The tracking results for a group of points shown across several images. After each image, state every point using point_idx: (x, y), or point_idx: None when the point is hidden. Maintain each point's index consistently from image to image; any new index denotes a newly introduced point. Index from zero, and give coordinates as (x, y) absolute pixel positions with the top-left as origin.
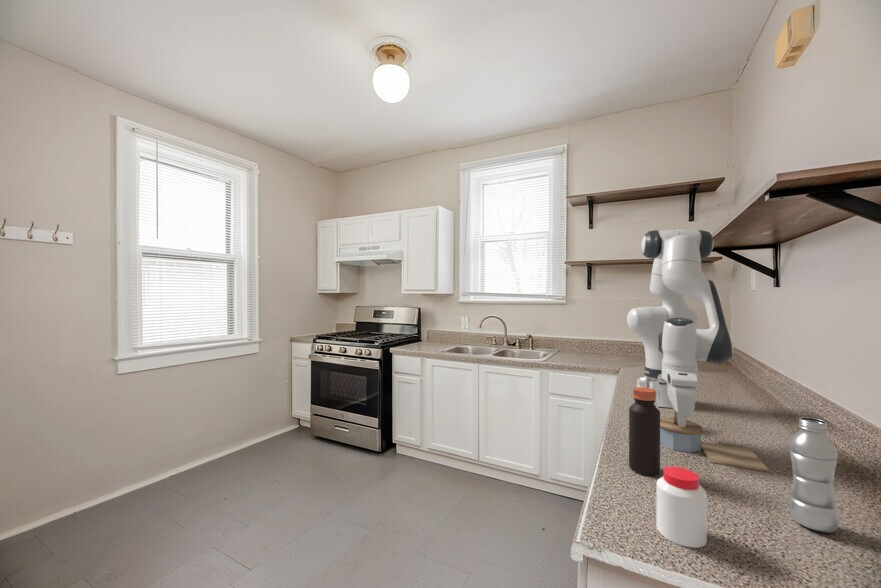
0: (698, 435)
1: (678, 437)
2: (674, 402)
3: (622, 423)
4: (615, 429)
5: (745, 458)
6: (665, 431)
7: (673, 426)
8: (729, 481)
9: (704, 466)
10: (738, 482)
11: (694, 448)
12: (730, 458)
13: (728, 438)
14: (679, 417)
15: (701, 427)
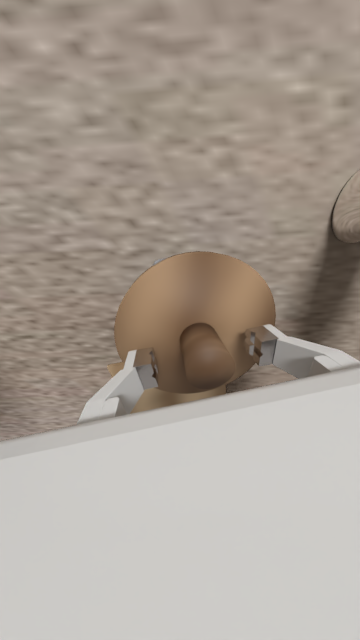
0: None
1: None
2: (59, 504)
3: (354, 62)
4: (246, 12)
5: (170, 404)
6: None
7: (148, 325)
8: (31, 390)
9: (73, 357)
10: (42, 399)
11: None
12: (152, 390)
13: (277, 380)
14: (107, 388)
15: (198, 391)
